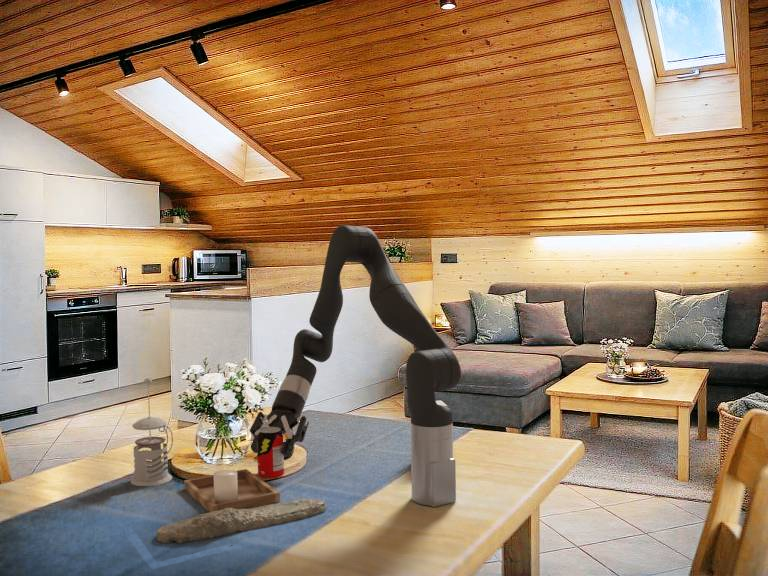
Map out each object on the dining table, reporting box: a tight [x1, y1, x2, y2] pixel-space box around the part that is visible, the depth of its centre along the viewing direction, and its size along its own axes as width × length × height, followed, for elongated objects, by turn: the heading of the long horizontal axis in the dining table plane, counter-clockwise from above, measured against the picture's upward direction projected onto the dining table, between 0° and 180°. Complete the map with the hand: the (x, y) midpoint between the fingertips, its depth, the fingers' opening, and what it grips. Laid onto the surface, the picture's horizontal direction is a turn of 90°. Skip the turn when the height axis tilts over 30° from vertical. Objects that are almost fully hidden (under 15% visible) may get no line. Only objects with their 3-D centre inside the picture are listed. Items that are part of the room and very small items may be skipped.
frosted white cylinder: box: [213, 469, 238, 504], centre depth 158 cm, size 5×5×7 cm
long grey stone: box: [156, 498, 327, 544], centre depth 148 cm, size 35×5×10 cm
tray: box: [183, 468, 281, 513], centre depth 164 cm, size 20×15×3 cm
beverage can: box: [256, 426, 285, 479], centre depth 179 cm, size 6×6×12 cm
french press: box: [130, 377, 174, 487], centre depth 179 cm, size 10×12×25 cm
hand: (268, 453), depth 178 cm, fingers open, 8 cm apart
